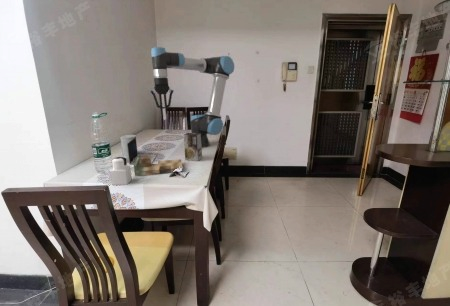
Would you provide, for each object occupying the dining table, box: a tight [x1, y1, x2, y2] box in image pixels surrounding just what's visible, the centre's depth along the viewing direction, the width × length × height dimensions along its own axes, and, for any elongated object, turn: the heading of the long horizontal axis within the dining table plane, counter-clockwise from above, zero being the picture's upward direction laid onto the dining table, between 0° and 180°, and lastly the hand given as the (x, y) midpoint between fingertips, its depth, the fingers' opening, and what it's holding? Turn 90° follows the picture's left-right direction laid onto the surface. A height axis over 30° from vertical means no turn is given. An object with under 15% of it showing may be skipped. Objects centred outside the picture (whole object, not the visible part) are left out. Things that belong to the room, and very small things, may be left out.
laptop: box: [127, 136, 157, 166], centre depth 144 cm, size 18×12×13 cm
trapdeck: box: [133, 157, 184, 177], centre depth 129 cm, size 24×15×6 cm, turn 103°
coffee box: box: [183, 132, 203, 162], centre depth 145 cm, size 9×6×16 cm
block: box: [141, 156, 151, 167], centre depth 127 cm, size 4×4×4 cm
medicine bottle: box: [109, 156, 132, 186], centre depth 111 cm, size 7×7×12 cm
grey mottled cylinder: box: [119, 134, 139, 157], centre depth 156 cm, size 10×10×12 cm
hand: (164, 119), depth 140 cm, fingers closed
